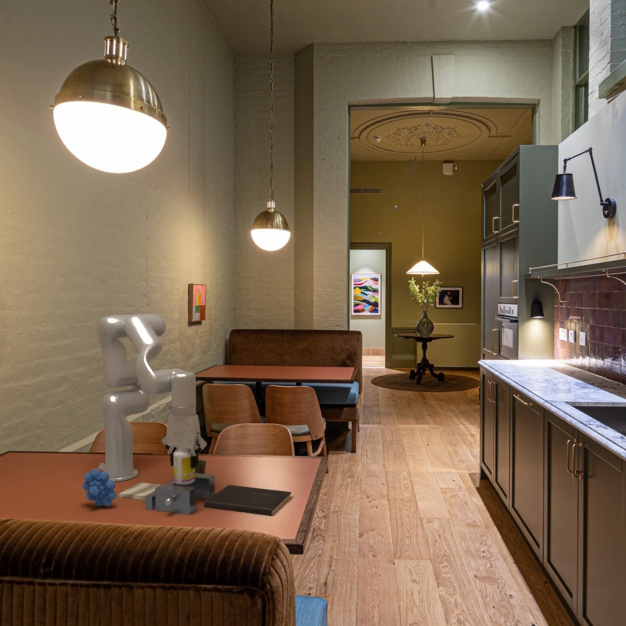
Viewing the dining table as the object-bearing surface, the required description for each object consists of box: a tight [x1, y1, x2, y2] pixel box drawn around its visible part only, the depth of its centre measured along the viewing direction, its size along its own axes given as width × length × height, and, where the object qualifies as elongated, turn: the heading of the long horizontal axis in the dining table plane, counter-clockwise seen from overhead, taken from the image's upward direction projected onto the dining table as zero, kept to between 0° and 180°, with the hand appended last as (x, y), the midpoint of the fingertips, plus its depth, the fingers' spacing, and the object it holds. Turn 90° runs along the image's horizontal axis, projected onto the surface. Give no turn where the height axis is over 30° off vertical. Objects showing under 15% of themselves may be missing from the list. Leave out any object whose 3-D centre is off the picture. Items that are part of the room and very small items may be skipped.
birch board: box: [118, 481, 160, 501], centre depth 180 cm, size 11×11×1 cm
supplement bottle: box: [173, 447, 195, 485], centre depth 170 cm, size 7×7×13 cm
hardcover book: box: [203, 484, 292, 517], centre depth 170 cm, size 16×23×2 cm
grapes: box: [82, 468, 117, 508], centre depth 167 cm, size 12×7×12 cm, turn 78°
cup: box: [195, 458, 207, 474], centre depth 187 cm, size 8×7×8 cm
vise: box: [144, 473, 216, 515], centre depth 169 cm, size 16×19×7 cm
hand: (184, 465), depth 170 cm, fingers closed on supplement bottle, 6 cm apart
